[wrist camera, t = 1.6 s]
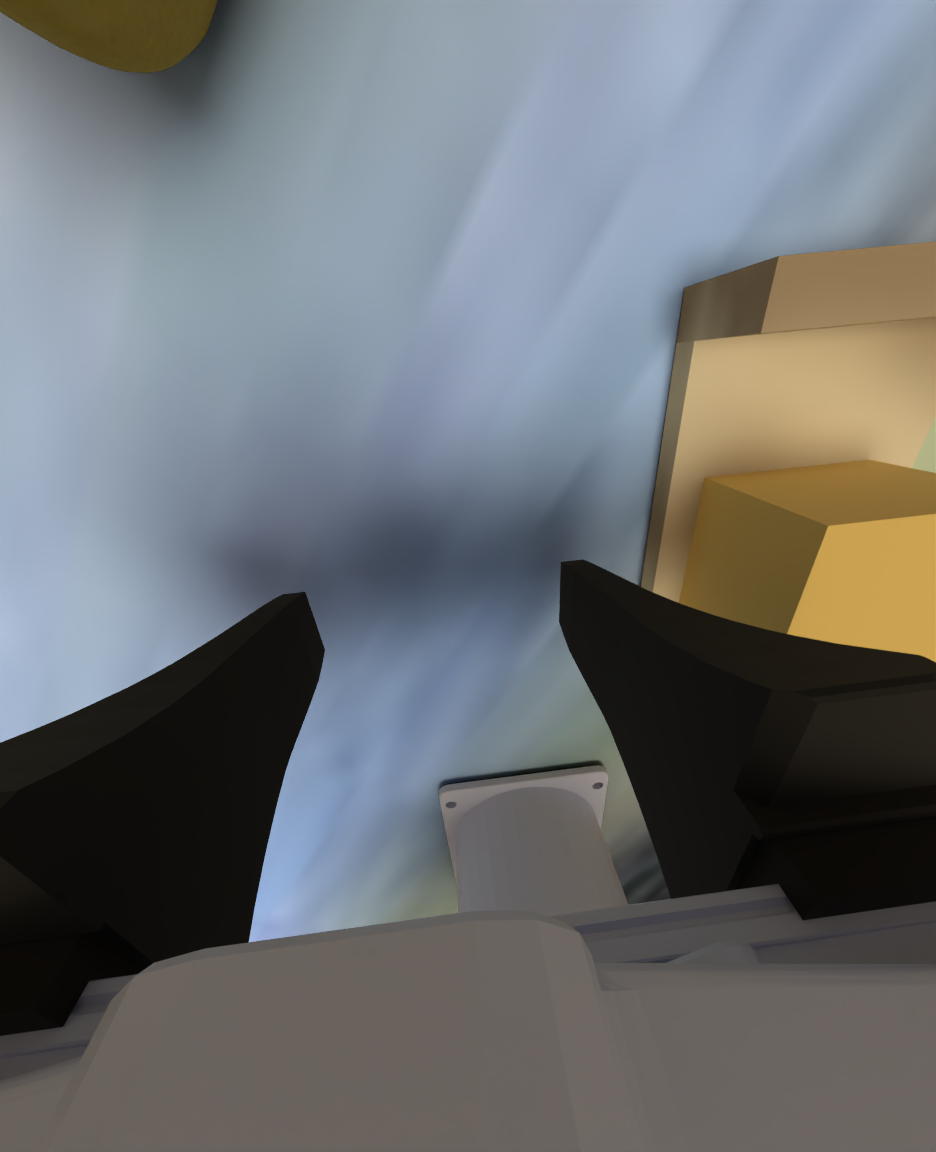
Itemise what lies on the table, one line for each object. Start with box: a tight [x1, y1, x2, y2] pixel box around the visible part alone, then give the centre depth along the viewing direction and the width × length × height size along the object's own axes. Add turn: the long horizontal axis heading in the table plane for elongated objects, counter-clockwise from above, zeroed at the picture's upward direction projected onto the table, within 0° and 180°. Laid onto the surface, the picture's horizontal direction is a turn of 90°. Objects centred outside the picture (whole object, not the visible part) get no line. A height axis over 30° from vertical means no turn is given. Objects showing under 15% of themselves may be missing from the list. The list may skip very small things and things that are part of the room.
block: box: [679, 460, 936, 662], centre depth 11 cm, size 5×5×4 cm
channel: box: [641, 242, 936, 603], centre depth 12 cm, size 14×15×3 cm
